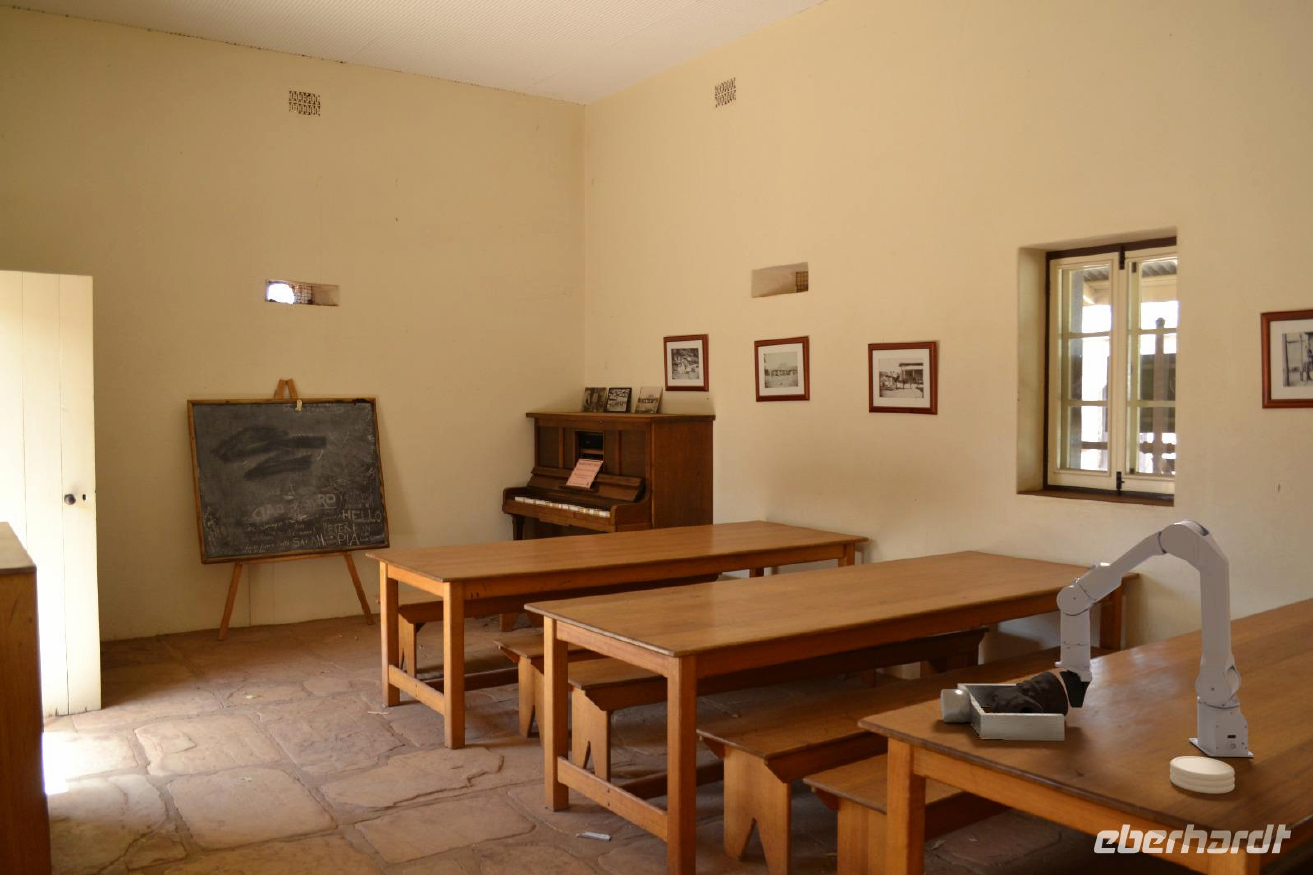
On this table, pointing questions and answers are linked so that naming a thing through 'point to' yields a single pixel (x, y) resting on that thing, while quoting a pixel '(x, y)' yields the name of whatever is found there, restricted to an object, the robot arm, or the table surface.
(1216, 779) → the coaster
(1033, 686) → the pipe
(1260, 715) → the table surface
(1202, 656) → the robot arm
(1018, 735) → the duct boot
